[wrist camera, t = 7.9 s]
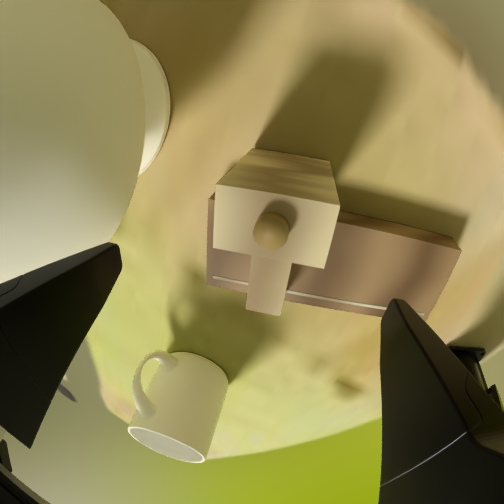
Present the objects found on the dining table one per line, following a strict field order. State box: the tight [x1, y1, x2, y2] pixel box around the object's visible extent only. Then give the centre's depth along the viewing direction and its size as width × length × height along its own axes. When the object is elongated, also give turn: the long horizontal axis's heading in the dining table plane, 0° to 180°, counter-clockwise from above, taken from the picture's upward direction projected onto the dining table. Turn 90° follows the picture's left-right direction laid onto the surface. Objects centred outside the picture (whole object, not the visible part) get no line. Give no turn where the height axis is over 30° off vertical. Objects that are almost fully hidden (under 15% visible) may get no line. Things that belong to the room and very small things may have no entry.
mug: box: [128, 350, 228, 463], centre depth 27 cm, size 9×12×11 cm
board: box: [207, 193, 461, 321], centre depth 20 cm, size 18×7×2 cm, turn 84°
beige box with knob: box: [213, 148, 340, 316], centre depth 17 cm, size 5×10×8 cm, turn 174°
